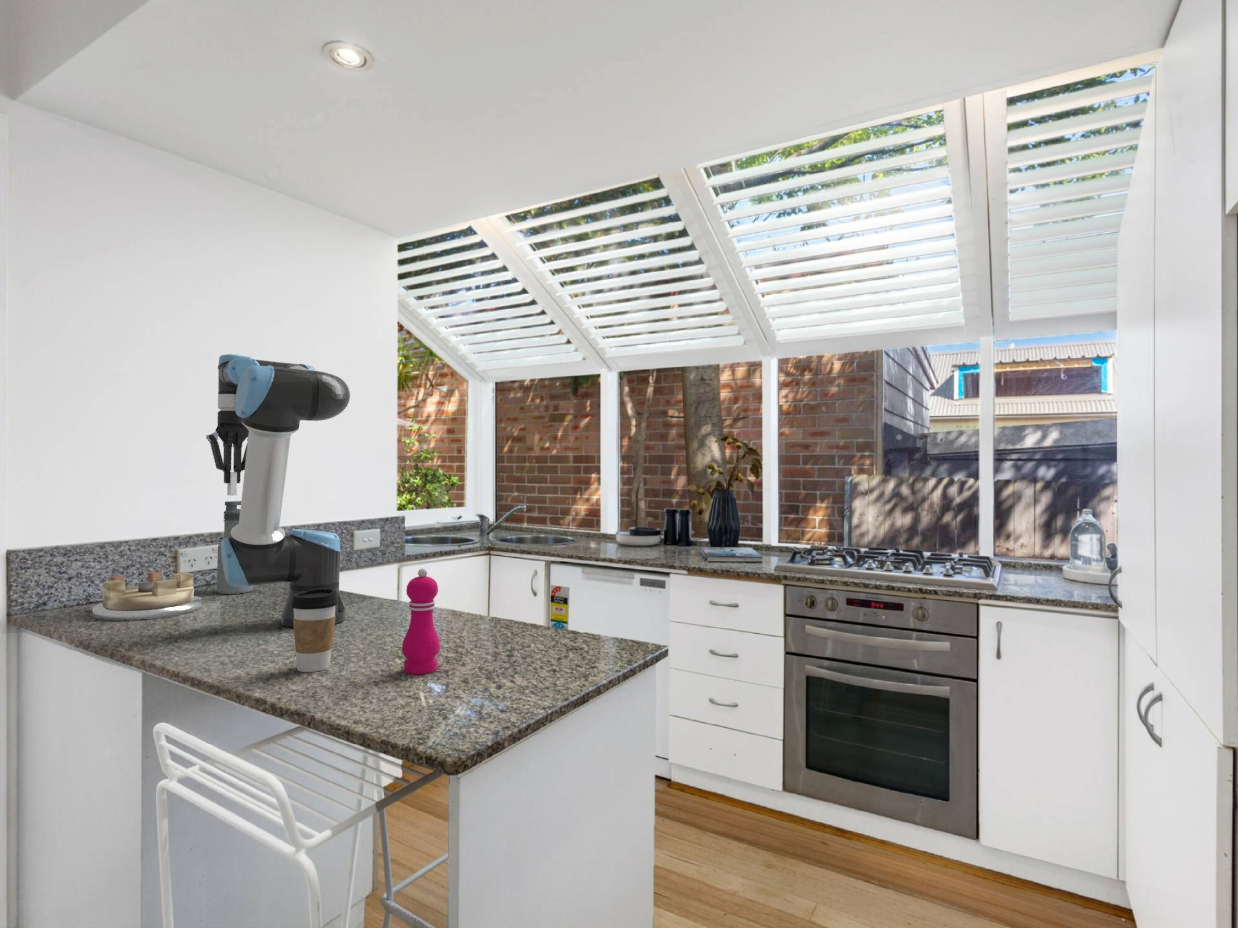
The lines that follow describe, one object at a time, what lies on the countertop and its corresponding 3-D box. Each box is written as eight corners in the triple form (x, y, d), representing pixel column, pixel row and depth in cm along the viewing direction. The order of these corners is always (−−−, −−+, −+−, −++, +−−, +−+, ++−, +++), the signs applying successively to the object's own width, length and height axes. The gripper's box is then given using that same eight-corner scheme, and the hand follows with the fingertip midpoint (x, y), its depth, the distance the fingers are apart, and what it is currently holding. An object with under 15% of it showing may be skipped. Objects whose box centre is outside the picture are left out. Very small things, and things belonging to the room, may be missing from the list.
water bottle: (245, 587, 217) (246, 500, 217) (260, 591, 211) (262, 501, 211) (210, 592, 209) (212, 501, 209) (225, 596, 203) (227, 502, 203)
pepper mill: (419, 677, 129) (421, 572, 129) (393, 671, 133) (395, 568, 133) (447, 668, 135) (449, 567, 135) (422, 662, 139) (424, 564, 139)
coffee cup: (345, 666, 135) (347, 590, 135) (306, 676, 128) (308, 597, 128) (319, 659, 140) (321, 586, 140) (280, 669, 133) (282, 592, 133)
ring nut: (207, 600, 185) (208, 576, 185) (122, 613, 168) (123, 586, 168) (172, 592, 196) (173, 569, 196) (89, 603, 179) (89, 578, 179)
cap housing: (212, 611, 182) (212, 598, 182) (100, 625, 165) (100, 610, 165) (189, 598, 199) (190, 586, 199) (86, 609, 182) (86, 596, 182)
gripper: (252, 413, 197) (251, 494, 197) (202, 409, 187) (201, 495, 187) (263, 411, 192) (261, 495, 192) (212, 408, 182) (210, 496, 182)
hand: (231, 495), depth 189 cm, fingers closed
